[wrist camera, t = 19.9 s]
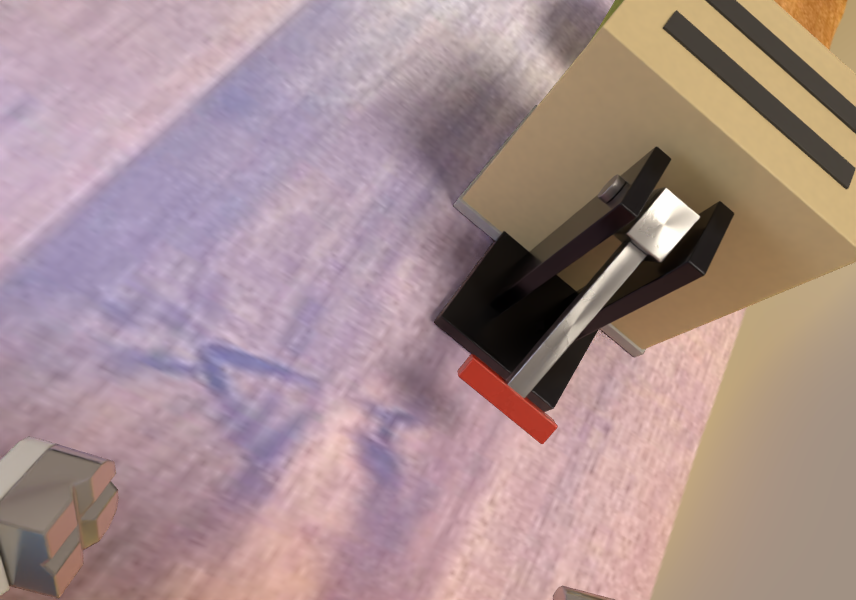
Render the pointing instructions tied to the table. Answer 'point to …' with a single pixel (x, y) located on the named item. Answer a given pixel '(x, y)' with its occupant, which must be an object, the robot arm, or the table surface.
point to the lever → (582, 311)
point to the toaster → (692, 151)
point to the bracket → (550, 295)
